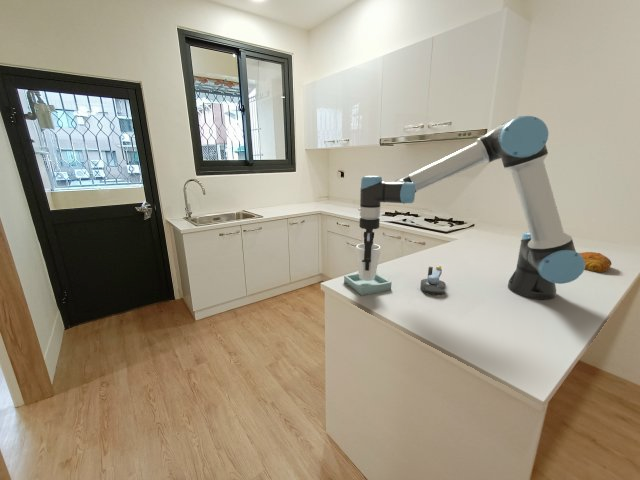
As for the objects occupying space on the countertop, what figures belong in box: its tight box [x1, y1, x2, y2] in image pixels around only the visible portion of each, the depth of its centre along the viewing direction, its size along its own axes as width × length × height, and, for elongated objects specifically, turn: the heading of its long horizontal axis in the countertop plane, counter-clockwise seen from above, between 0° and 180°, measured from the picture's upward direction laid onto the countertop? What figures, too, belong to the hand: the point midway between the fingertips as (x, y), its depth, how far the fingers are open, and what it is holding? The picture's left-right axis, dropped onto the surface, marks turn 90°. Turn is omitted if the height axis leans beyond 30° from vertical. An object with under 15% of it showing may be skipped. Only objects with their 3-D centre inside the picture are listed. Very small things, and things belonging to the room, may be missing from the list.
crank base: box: [420, 266, 446, 296], centre depth 115 cm, size 12×10×6 cm
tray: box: [343, 272, 392, 297], centre depth 119 cm, size 14×14×3 cm
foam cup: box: [355, 242, 381, 281], centre depth 116 cm, size 10×9×13 cm
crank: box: [427, 265, 443, 284], centre depth 117 cm, size 13×4×3 cm, turn 149°
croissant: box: [578, 251, 612, 273], centre depth 139 cm, size 14×16×8 cm
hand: (367, 272), depth 118 cm, fingers closed on foam cup, 9 cm apart
